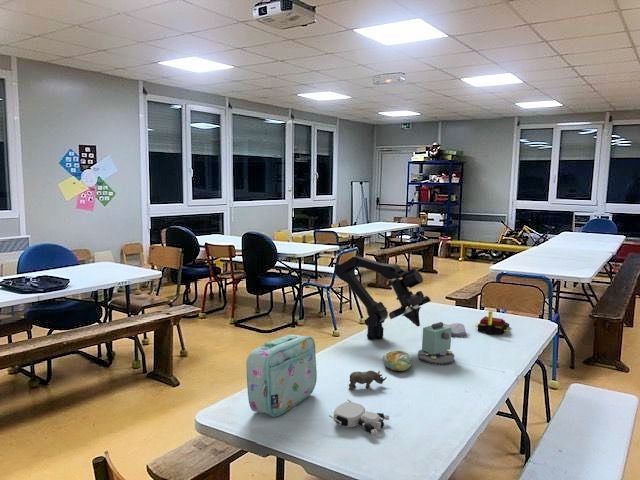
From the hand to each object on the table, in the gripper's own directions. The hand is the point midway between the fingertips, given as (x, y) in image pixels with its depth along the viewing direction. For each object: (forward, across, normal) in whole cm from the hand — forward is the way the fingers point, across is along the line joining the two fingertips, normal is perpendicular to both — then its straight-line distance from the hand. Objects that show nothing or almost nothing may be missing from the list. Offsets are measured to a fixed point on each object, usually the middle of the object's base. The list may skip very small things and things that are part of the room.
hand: (418, 326), depth 213 cm
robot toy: (+16, -59, -44) cm, 75 cm away
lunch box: (+3, -72, -26) cm, 77 cm away
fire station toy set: (+17, +44, +14) cm, 49 cm away
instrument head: (+11, -4, -12) cm, 17 cm away
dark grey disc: (+14, -5, -9) cm, 17 cm away
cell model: (+10, -23, -12) cm, 27 cm away
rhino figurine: (+10, -43, -23) cm, 50 cm away
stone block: (+10, +23, +14) cm, 29 cm away
